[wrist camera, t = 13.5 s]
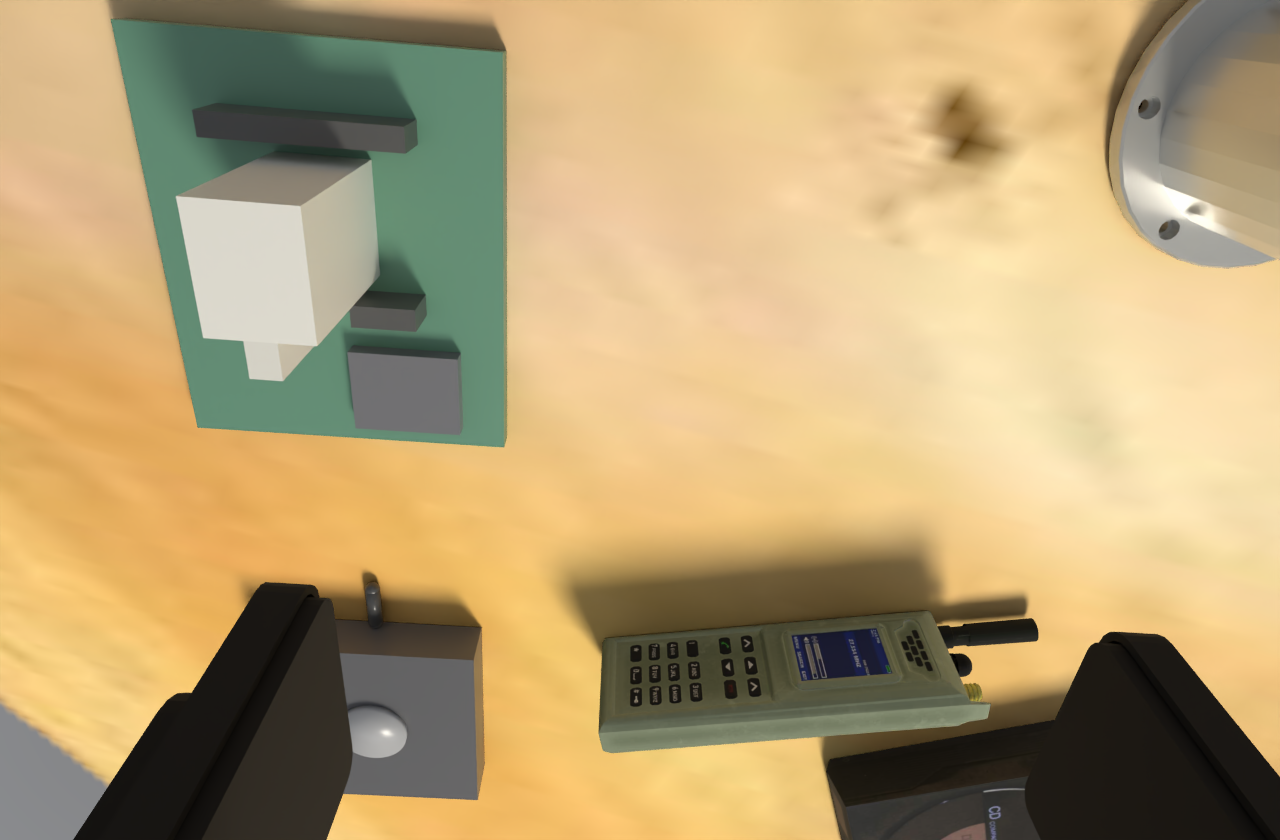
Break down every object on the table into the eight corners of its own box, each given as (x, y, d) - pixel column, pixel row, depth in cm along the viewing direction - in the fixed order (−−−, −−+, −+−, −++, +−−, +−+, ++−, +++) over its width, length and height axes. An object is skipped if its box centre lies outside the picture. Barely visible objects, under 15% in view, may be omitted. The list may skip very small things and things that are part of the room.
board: (506, 50, 32) (494, 56, 30) (506, 437, 41) (497, 468, 38) (125, 18, 32) (78, 21, 29) (207, 417, 40) (177, 448, 38)
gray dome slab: (480, 585, 45) (471, 622, 43) (484, 764, 53) (476, 805, 50) (265, 572, 45) (242, 609, 42) (299, 755, 52) (281, 796, 49)
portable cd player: (822, 754, 53) (835, 808, 50) (1087, 707, 51) (1121, 760, 48) (854, 896, 61) (868, 952, 57) (1086, 860, 59) (1115, 916, 55)
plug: (371, 159, 33) (300, 206, 26) (382, 306, 36) (321, 383, 29) (273, 151, 33) (175, 196, 26) (293, 300, 36) (210, 376, 29)
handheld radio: (600, 628, 47) (1030, 591, 46) (608, 667, 49) (1022, 632, 48) (596, 722, 42) (1086, 683, 40) (604, 763, 43) (1075, 726, 42)
